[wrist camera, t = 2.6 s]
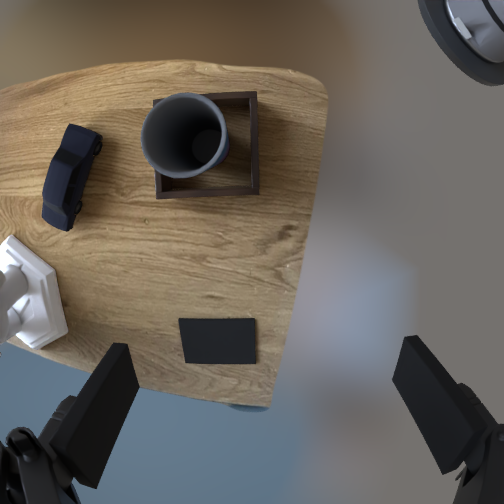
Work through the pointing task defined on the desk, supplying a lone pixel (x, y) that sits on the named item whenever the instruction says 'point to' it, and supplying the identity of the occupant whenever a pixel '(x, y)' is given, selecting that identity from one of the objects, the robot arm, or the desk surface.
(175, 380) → the desk surface
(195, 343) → the mat
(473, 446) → the robot arm
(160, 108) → the cup
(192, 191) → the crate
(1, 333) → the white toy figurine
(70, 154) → the toy car
